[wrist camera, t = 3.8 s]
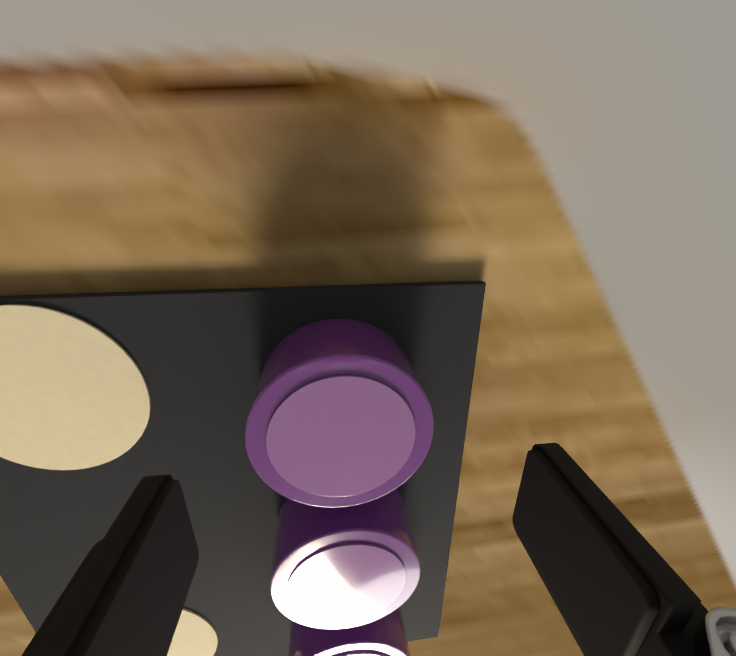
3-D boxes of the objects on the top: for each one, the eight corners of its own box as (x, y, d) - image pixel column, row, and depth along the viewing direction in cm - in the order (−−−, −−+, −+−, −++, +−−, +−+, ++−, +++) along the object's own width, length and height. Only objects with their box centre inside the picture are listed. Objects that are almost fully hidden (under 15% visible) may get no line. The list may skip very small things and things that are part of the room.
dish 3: (295, 648, 21) (291, 725, 18) (286, 581, 19) (279, 657, 16) (397, 632, 22) (409, 704, 19) (401, 566, 19) (416, 636, 16)
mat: (78, 685, 20) (73, 697, 20) (-152, 300, 11) (-173, 305, 11) (436, 629, 23) (438, 638, 23) (482, 280, 14) (487, 283, 13)
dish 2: (284, 567, 18) (277, 642, 15) (271, 475, 16) (260, 543, 13) (401, 551, 19) (417, 620, 16) (407, 462, 17) (426, 523, 14)
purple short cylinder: (268, 454, 15) (256, 520, 12) (250, 321, 13) (229, 362, 10) (408, 442, 16) (428, 501, 13) (415, 314, 14) (443, 350, 11)
